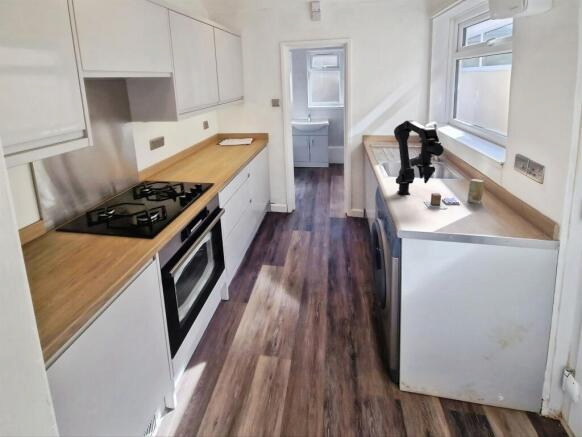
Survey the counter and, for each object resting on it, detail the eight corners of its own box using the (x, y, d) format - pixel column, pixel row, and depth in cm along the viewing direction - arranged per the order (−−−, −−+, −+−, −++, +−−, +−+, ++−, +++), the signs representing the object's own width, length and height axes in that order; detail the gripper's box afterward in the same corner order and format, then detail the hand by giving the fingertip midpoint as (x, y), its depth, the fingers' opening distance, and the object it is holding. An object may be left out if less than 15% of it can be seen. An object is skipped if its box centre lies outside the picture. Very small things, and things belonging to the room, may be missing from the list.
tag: (423, 202, 229) (423, 201, 229) (440, 202, 228) (440, 201, 228) (429, 209, 218) (429, 208, 218) (447, 209, 217) (447, 208, 217)
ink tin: (441, 199, 233) (442, 197, 232) (454, 199, 232) (454, 197, 232) (446, 204, 224) (446, 202, 224) (460, 204, 224) (460, 202, 223)
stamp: (430, 203, 225) (431, 193, 223) (437, 203, 225) (439, 193, 223) (432, 206, 221) (433, 195, 219) (440, 206, 221) (441, 195, 219)
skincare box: (466, 201, 229) (469, 179, 225) (469, 199, 232) (472, 178, 228) (478, 203, 225) (481, 181, 221) (481, 202, 228) (484, 180, 224)
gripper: (407, 148, 230) (404, 176, 235) (415, 156, 212) (412, 185, 218) (427, 148, 229) (424, 176, 235) (437, 156, 212) (433, 185, 217)
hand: (423, 180), depth 226 cm, fingers open, 9 cm apart
